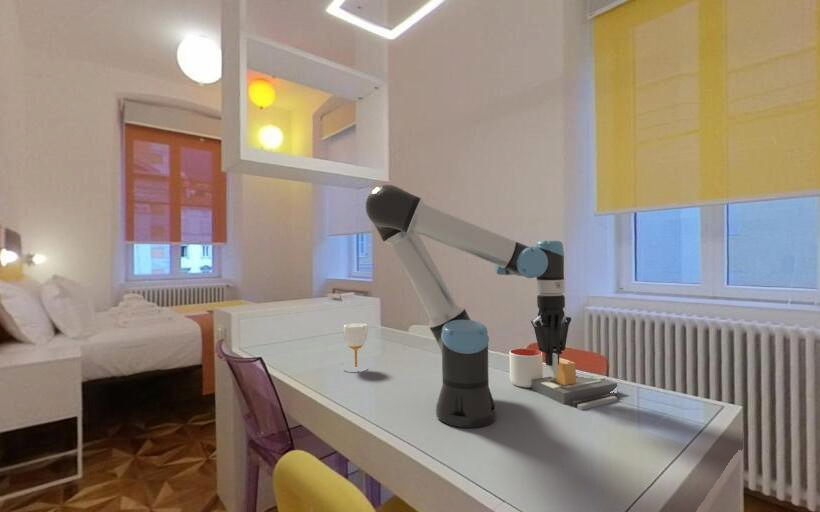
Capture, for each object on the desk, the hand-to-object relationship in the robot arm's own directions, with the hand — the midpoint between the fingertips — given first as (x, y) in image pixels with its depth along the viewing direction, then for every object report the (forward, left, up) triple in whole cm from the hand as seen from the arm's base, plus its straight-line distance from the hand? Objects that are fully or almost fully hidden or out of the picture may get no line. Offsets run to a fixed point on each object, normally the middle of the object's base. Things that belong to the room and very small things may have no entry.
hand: (552, 376), depth 114 cm
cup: (0, +12, -6) cm, 13 cm away
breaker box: (+8, 0, -6) cm, 10 cm away
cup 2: (-45, +51, -6) cm, 68 cm away
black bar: (+7, -8, -6) cm, 12 cm away
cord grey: (+6, -10, -6) cm, 13 cm away
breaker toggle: (+5, 0, -2) cm, 5 cm away
